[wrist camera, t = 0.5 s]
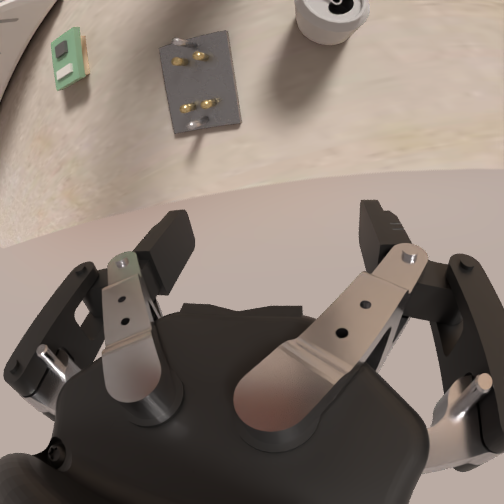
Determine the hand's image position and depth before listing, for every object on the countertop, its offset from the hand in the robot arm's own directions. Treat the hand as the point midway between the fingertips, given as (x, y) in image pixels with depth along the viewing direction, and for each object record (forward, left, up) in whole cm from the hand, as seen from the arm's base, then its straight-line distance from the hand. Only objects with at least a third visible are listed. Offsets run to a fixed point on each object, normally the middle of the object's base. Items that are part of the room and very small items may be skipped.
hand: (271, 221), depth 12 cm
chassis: (-8, -12, -28) cm, 31 cm away
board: (-20, -33, -25) cm, 46 cm away
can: (-15, +6, -28) cm, 33 cm away
